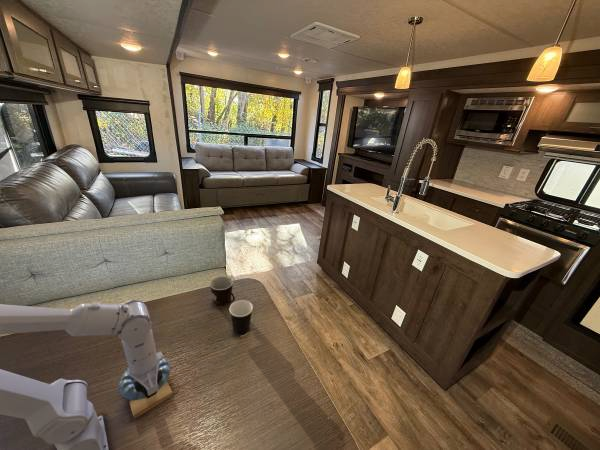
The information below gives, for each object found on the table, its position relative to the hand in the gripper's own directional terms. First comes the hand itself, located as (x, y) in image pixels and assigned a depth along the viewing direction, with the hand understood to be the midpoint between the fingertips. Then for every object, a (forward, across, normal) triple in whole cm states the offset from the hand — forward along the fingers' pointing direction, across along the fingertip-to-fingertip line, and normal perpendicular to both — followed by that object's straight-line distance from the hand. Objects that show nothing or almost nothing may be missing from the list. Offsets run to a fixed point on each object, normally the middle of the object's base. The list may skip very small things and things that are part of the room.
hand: (149, 388), depth 61 cm
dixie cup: (+7, +7, -30) cm, 32 cm away
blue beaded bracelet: (0, +4, 0) cm, 4 cm away
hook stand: (+7, +4, 0) cm, 8 cm away
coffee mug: (+7, +23, -31) cm, 39 cm away
